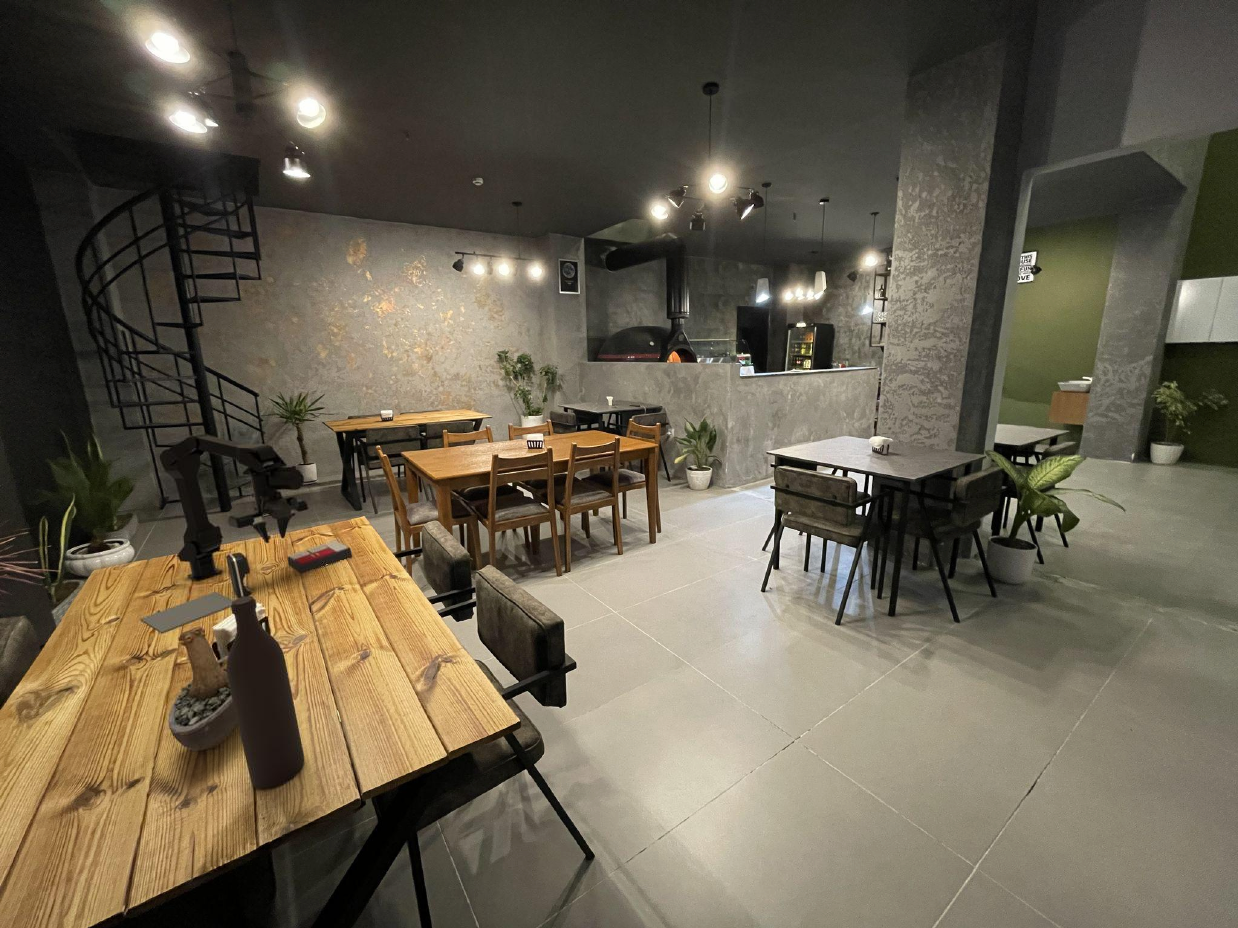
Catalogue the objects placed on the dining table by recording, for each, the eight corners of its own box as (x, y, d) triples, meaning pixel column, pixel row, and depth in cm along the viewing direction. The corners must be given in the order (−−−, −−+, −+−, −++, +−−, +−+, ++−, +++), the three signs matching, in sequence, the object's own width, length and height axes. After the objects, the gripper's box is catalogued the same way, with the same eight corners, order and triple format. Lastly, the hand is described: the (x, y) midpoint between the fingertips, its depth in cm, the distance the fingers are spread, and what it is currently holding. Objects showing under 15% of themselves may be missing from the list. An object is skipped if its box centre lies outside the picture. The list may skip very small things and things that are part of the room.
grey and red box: (285, 555, 155) (335, 538, 166) (289, 567, 156) (338, 549, 167) (299, 563, 148) (350, 545, 159) (302, 576, 149) (353, 557, 161)
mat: (140, 619, 124) (140, 618, 124) (215, 592, 138) (215, 591, 138) (162, 633, 118) (161, 631, 118) (238, 603, 132) (238, 602, 131)
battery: (255, 593, 137) (247, 555, 134) (239, 598, 134) (230, 560, 132) (249, 586, 141) (241, 549, 139) (233, 591, 139) (224, 553, 136)
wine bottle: (301, 747, 83) (268, 584, 76) (309, 773, 77) (275, 600, 71) (249, 770, 78) (210, 599, 71) (254, 800, 73) (212, 618, 66)
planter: (246, 689, 97) (226, 597, 93) (291, 719, 89) (271, 620, 85) (149, 740, 85) (120, 637, 80) (190, 780, 77) (160, 668, 72)
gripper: (242, 501, 128) (253, 557, 132) (314, 484, 144) (323, 534, 148) (221, 496, 134) (233, 549, 137) (294, 480, 149) (302, 528, 153)
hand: (275, 540), depth 144 cm, fingers open, 4 cm apart
